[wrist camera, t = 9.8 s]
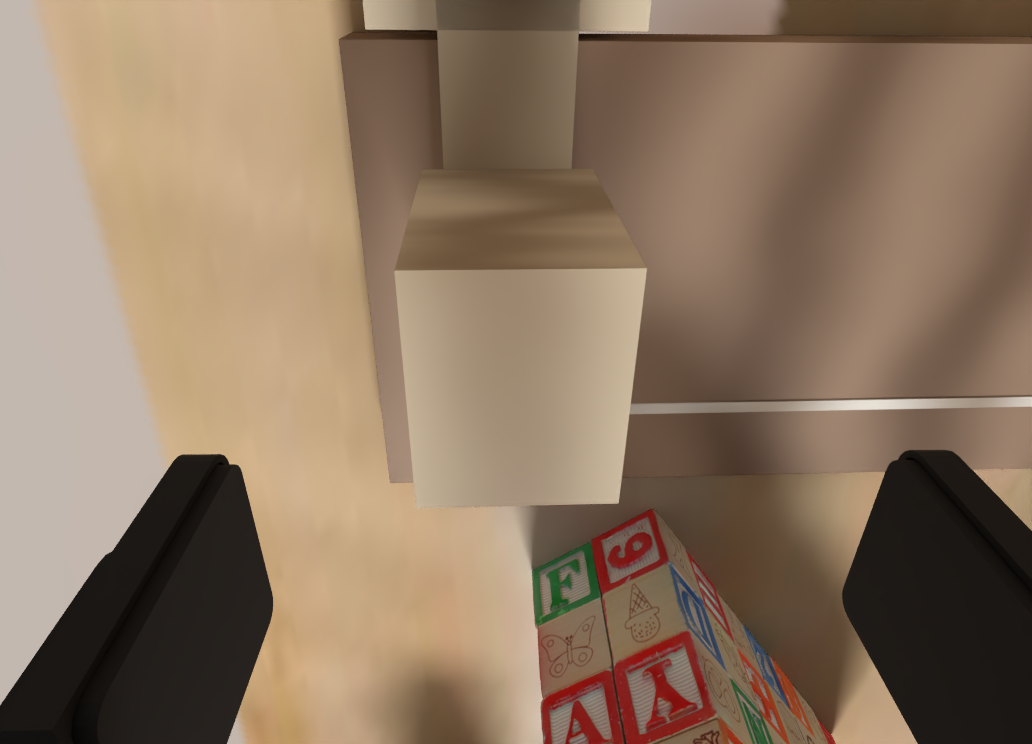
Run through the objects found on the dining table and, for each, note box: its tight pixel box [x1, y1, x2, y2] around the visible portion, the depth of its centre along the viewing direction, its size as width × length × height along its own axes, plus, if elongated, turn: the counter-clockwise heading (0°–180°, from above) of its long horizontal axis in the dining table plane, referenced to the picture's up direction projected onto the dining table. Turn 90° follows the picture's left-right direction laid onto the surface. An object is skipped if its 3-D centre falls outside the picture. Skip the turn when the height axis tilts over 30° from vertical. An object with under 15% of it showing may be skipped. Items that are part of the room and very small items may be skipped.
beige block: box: [363, 0, 652, 508], centre depth 16 cm, size 6×15×10 cm, turn 179°
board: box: [339, 32, 1032, 483], centre depth 21 cm, size 26×14×2 cm, turn 89°
